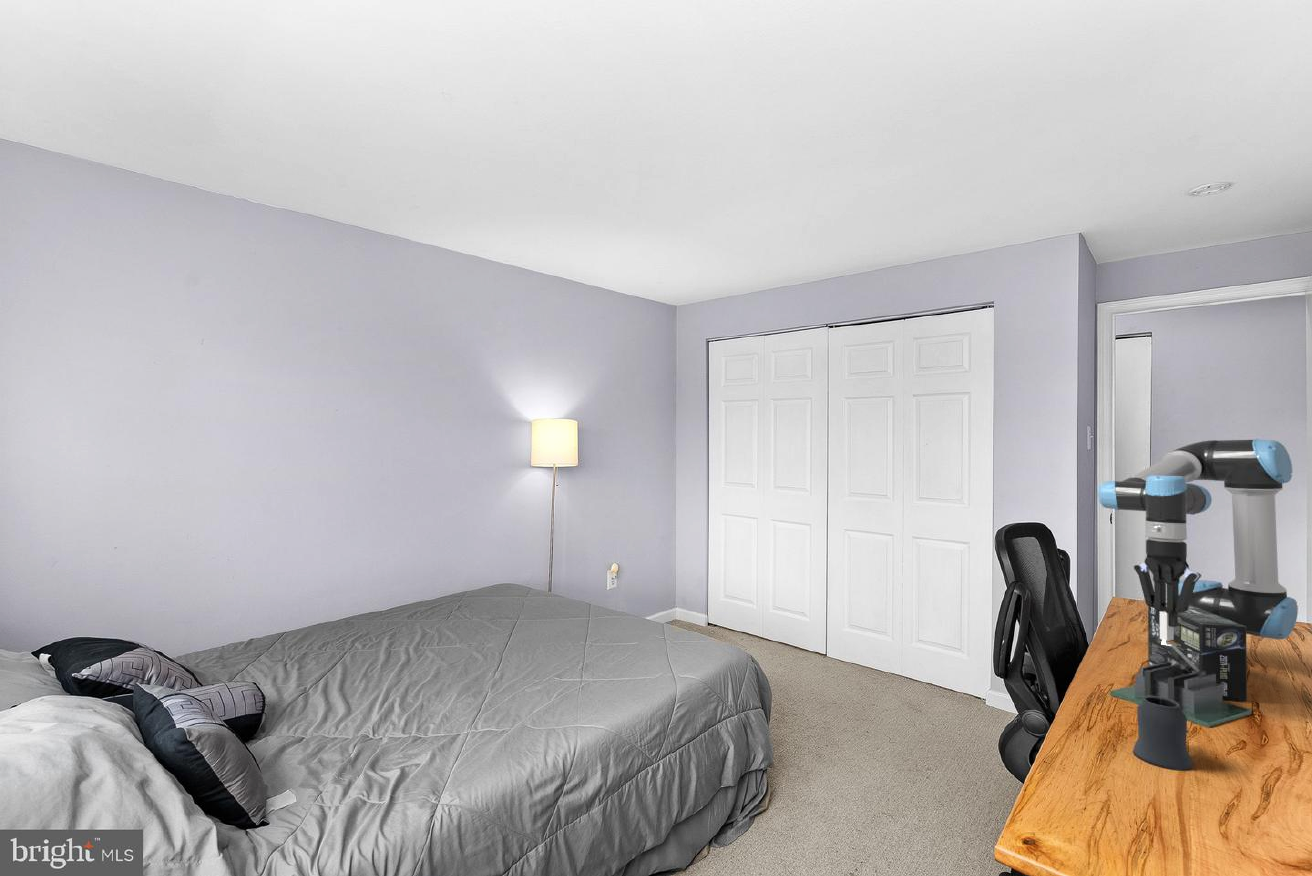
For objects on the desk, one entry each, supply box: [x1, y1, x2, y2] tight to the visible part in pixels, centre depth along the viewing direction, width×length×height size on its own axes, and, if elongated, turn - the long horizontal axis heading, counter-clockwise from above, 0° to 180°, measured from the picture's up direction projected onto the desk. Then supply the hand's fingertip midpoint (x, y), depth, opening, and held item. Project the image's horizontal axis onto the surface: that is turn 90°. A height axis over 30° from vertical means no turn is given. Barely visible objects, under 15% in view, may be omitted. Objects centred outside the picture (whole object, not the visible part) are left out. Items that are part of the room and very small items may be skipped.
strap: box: [1161, 640, 1200, 673], centre depth 149 cm, size 16×3×2 cm
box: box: [1147, 602, 1248, 703], centre depth 162 cm, size 23×10×19 cm, turn 168°
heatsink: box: [1109, 662, 1252, 728], centre depth 148 cm, size 18×20×8 cm
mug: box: [1132, 696, 1194, 772], centre depth 122 cm, size 12×9×11 cm
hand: (1166, 639), depth 146 cm, fingers closed
